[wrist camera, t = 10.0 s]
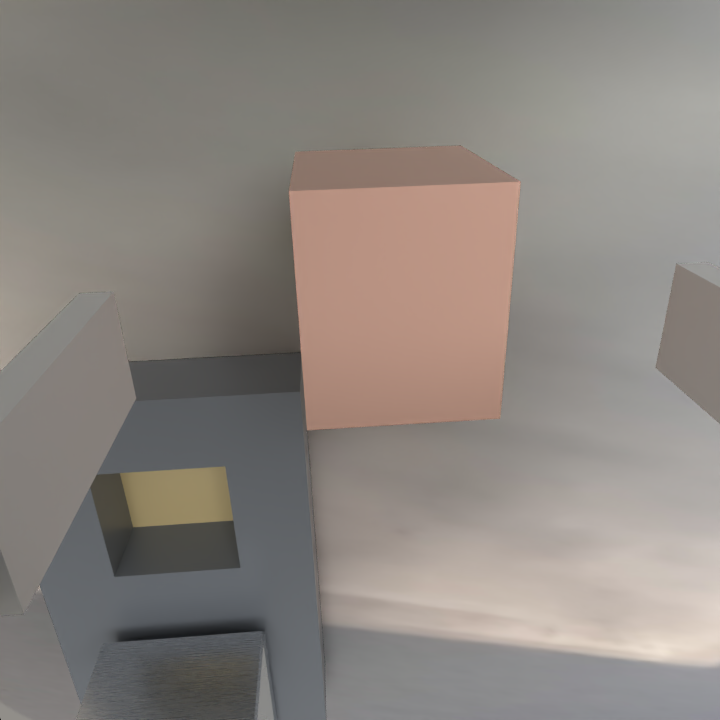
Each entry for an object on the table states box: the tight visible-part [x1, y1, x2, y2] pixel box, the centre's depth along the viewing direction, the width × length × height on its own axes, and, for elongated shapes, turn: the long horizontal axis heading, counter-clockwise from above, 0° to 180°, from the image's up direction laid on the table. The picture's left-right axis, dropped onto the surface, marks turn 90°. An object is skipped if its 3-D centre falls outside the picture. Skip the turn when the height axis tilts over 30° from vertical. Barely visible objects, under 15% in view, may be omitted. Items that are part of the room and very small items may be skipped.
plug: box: [289, 145, 521, 430], centre depth 20 cm, size 6×5×11 cm
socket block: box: [40, 353, 326, 720], centre depth 29 cm, size 20×12×4 cm, turn 2°
